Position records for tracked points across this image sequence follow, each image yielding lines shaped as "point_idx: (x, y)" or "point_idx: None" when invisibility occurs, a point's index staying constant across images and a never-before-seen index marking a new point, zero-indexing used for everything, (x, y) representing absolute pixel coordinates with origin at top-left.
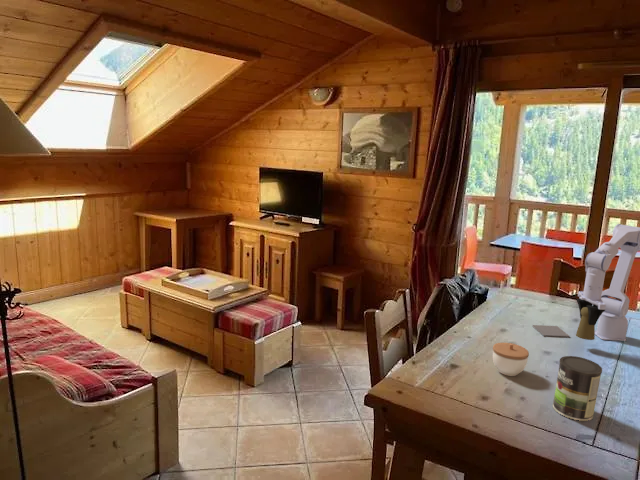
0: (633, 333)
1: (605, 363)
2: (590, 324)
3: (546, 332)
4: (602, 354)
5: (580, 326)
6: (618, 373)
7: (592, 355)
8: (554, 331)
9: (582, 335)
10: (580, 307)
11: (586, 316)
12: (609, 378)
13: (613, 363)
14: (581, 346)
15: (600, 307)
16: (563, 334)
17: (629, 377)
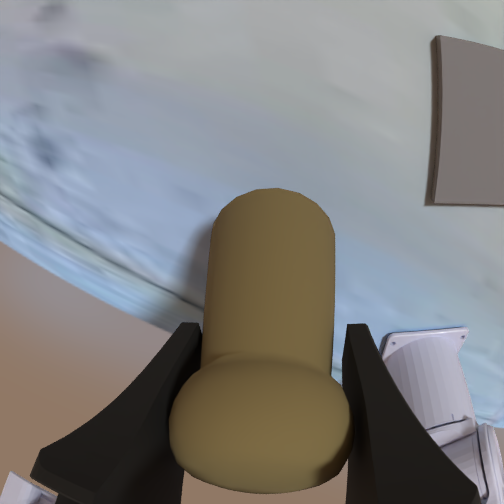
0: None
1: (114, 231)
2: (180, 330)
3: (482, 81)
4: None
5: (253, 252)
6: (51, 237)
7: (186, 211)
8: (495, 145)
9: (222, 221)
10: (371, 437)
11: (195, 373)
12: (5, 190)
13: (129, 263)
14: None
15: (8, 490)
16: (456, 177)
17: (43, 257)
